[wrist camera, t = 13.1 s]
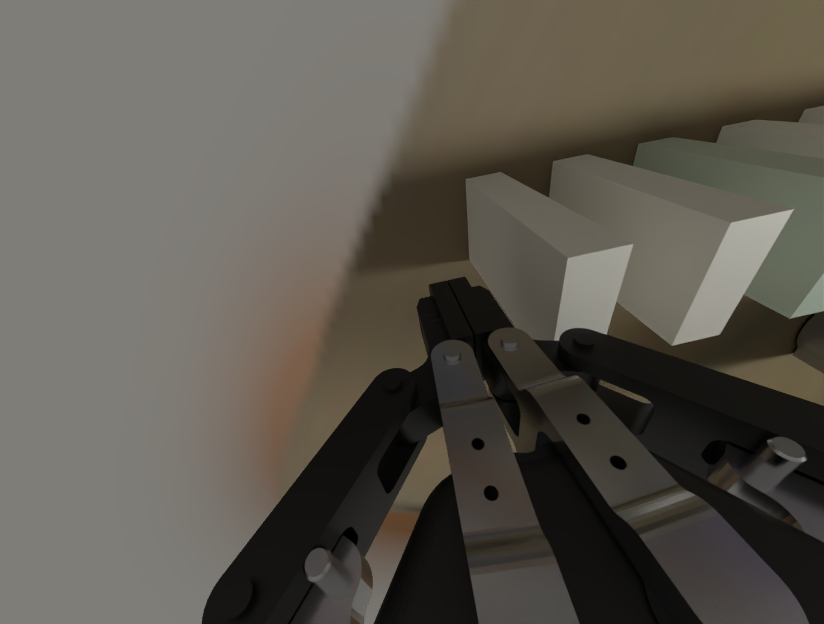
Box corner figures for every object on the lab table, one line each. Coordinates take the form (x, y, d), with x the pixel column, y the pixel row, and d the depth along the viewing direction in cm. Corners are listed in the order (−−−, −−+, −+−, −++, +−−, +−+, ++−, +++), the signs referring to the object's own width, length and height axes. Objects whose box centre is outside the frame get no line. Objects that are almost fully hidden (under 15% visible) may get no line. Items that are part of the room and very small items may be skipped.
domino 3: (755, 119, 18) (1096, 143, 9) (717, 206, 20) (952, 281, 12) (722, 126, 17) (1037, 155, 9) (688, 212, 20) (906, 291, 12)
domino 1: (500, 171, 17) (633, 243, 9) (499, 253, 20) (598, 362, 12) (465, 179, 17) (567, 257, 9) (469, 260, 20) (548, 374, 12)
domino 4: (672, 136, 17) (947, 176, 9) (645, 222, 20) (836, 308, 12) (638, 143, 17) (886, 189, 9) (616, 228, 20) (789, 318, 12)
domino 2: (587, 154, 17) (794, 209, 9) (573, 237, 20) (719, 334, 12) (552, 161, 17) (730, 222, 9) (543, 244, 20) (671, 345, 12)
